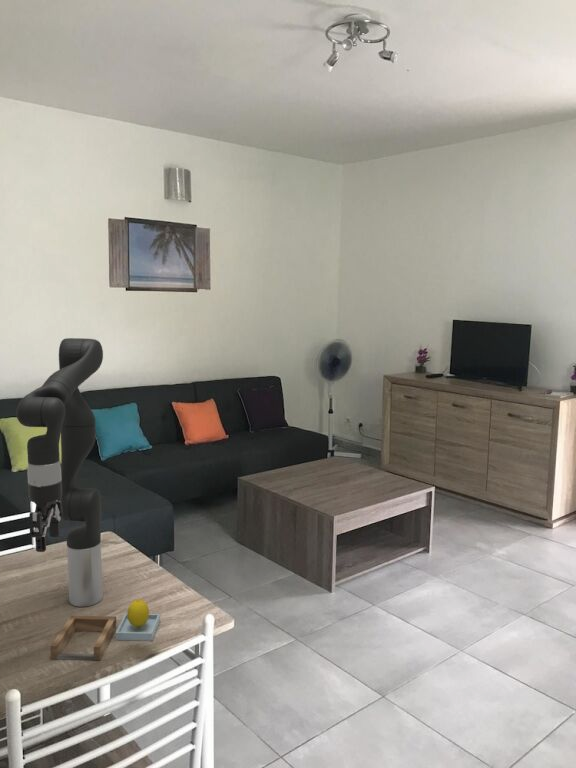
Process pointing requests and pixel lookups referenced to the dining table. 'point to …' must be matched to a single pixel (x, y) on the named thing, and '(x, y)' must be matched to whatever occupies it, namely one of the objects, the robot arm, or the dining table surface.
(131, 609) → the lemon
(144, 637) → the dish
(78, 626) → the wooden letter tray
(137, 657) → the dining table surface
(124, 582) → the dining table surface
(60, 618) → the dining table surface
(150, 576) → the dining table surface
